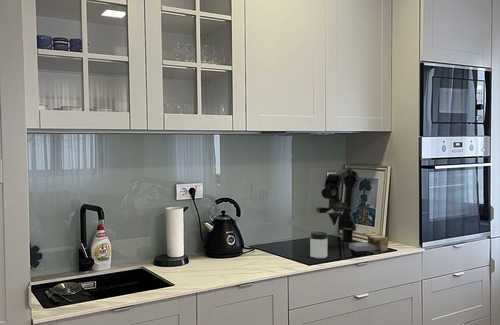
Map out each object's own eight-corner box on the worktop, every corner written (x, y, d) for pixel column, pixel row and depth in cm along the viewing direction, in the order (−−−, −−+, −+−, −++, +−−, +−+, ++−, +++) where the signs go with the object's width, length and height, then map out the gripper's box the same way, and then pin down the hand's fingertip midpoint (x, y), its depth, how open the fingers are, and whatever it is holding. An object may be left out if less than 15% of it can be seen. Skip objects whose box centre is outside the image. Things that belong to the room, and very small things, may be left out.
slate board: (349, 248, 272) (349, 243, 272) (372, 247, 276) (372, 241, 275) (356, 252, 264) (356, 246, 264) (380, 250, 267) (380, 245, 267)
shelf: (362, 245, 279) (362, 232, 278) (374, 244, 280) (374, 232, 280) (375, 251, 263) (375, 238, 263) (387, 250, 265) (387, 237, 264)
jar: (331, 256, 251) (331, 233, 251) (319, 259, 246) (320, 235, 246) (317, 253, 258) (317, 230, 258) (306, 256, 253) (306, 232, 253)
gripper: (323, 199, 264) (323, 228, 265) (356, 198, 268) (355, 226, 269) (316, 196, 275) (315, 224, 276) (347, 195, 279) (347, 223, 280)
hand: (333, 225), depth 275 cm, fingers closed
